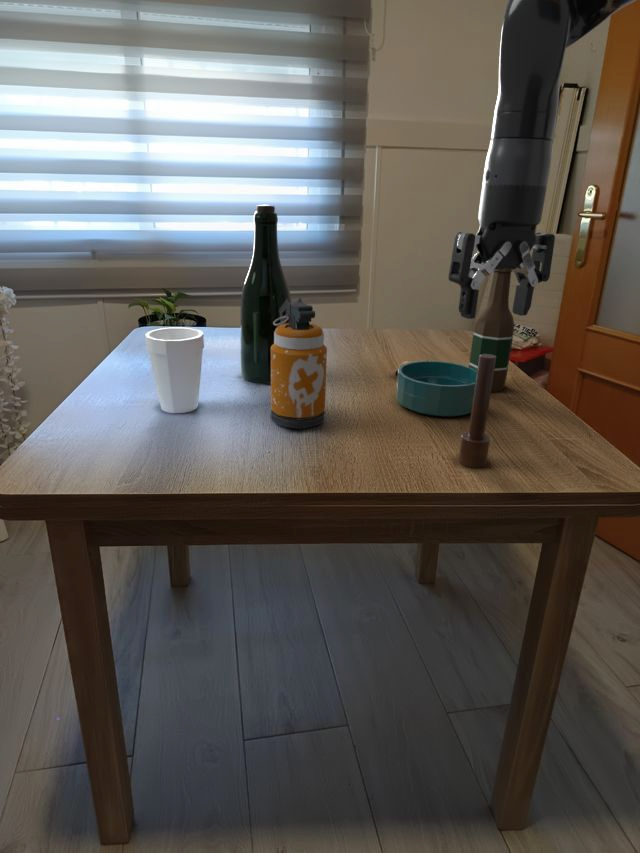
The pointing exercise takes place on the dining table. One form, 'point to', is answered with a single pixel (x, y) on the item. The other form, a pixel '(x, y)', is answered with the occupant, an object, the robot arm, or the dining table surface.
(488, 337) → the beer bottle
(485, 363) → the muddler
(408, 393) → the bowl
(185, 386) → the foam cup
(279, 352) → the canister
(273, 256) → the green wine bottle
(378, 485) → the dining table surface
